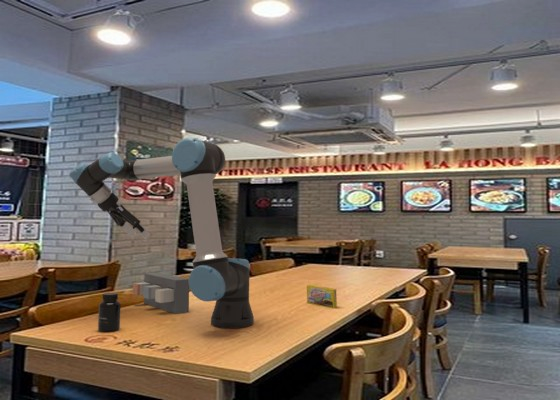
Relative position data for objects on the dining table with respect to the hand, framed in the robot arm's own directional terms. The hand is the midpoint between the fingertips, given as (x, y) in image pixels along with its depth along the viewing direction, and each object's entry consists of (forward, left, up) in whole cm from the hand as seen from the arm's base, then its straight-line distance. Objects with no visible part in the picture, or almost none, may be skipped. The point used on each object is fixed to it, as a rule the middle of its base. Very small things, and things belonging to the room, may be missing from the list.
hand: (141, 236), depth 184 cm
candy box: (+13, -75, -30) cm, 82 cm away
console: (+7, -9, -30) cm, 32 cm away
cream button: (-5, -12, -25) cm, 28 cm away
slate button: (+4, -5, -25) cm, 26 cm away
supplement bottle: (-32, 0, -30) cm, 44 cm away
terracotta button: (+12, +2, -25) cm, 28 cm away
